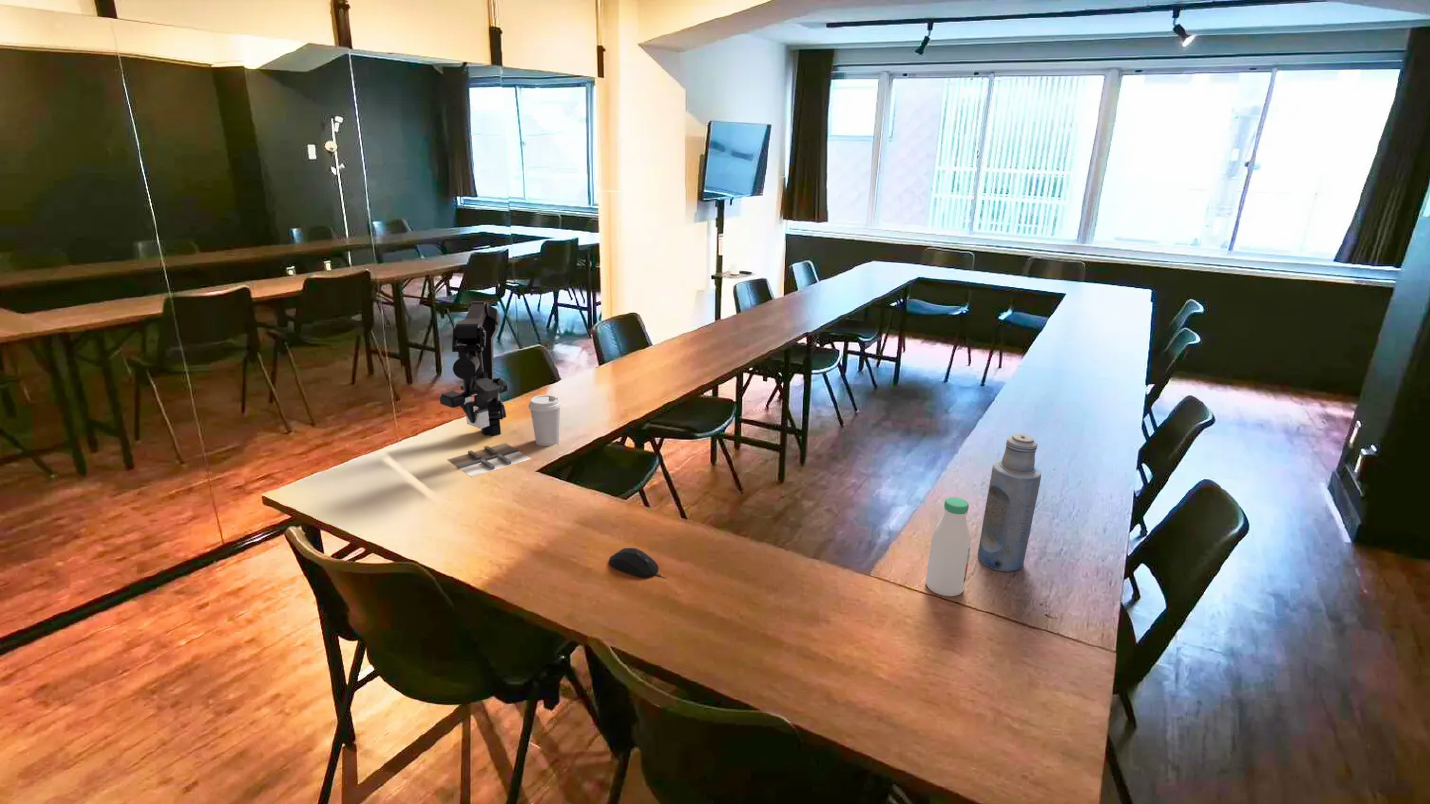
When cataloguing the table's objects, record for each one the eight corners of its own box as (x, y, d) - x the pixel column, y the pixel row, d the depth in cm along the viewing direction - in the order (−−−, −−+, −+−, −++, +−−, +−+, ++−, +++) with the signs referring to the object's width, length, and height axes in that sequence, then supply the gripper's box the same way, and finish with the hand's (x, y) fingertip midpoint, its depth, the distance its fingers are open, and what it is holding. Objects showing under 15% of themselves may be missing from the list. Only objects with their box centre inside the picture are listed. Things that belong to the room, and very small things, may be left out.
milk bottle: (958, 602, 144) (972, 514, 137) (920, 589, 148) (932, 504, 141) (967, 583, 150) (981, 499, 144) (931, 572, 154) (942, 489, 147)
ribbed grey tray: (447, 464, 201) (446, 456, 201) (506, 447, 213) (505, 439, 212) (472, 482, 191) (471, 473, 190) (531, 463, 203) (531, 455, 202)
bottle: (967, 554, 161) (987, 431, 151) (1001, 545, 165) (1022, 425, 155) (999, 576, 153) (1021, 448, 143) (1033, 567, 157) (1058, 441, 147)
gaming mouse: (658, 587, 148) (658, 571, 147) (603, 565, 155) (602, 549, 154) (675, 573, 153) (675, 557, 152) (621, 553, 160) (621, 537, 159)
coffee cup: (556, 453, 210) (553, 405, 205) (525, 450, 211) (522, 403, 206) (568, 441, 219) (566, 395, 213) (539, 438, 220) (536, 392, 215)
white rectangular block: (467, 423, 201) (465, 406, 199) (475, 420, 203) (474, 404, 202) (480, 428, 198) (478, 411, 196) (489, 425, 200) (487, 408, 198)
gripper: (461, 382, 183) (467, 438, 189) (518, 365, 198) (523, 418, 203) (435, 374, 189) (442, 428, 195) (492, 358, 204) (497, 409, 209)
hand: (477, 421), depth 200 cm, fingers closed on white rectangular block, 3 cm apart
